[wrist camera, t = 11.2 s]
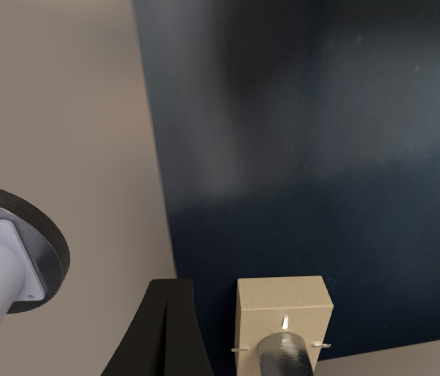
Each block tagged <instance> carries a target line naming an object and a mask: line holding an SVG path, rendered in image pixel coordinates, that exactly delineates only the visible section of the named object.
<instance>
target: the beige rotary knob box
mask: <svg viewBox="0 0 440 376" xmlns="http://www.w3.org/2000/svg"><path fill="white" fill-rule="evenodd" d="M332 309H333V304H332V301H331V299H330V297H329V294H328V292H327V289H326V287H325V284H324V282H323V280H322V277H321V276H300V277H273V278H246V279H238V280H237V300H236V325H235V347H232V351H235V359H236V370H237V376H261V373H260V366H259V359H258V353H257V347H258V344H259V343H260V342H261V341H262V340H263V339H265V338H266V337H268V336H271V335H274V334H278V333H293V334H296V335H298V336H300V337H302V338H303V340H304V341H305V344H306V348H307V351H308V355H309V358H310V362H311V365H312V369H313V371H314V368H315V365H316V362H317V359H318V355H319V352H320V349H321V347H330V343H322V342H323V339H324V336H325V332H326V329H327V326H328V322H329V319H330V316H331V312H332Z"/></svg>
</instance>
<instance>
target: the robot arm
mask: <svg viewBox="0 0 440 376" xmlns="http://www.w3.org/2000/svg"><path fill="white" fill-rule="evenodd" d="M45 295H46V294H45V291H44V289H43V287H42V284H41V282H40V280H39V278H38V276H37V274H36V271H35V269H34V267H33V265H32V263H31V260H30V258H29V256H28V254H27V252H26V250H25V247H24V245H23V243H22V241H21V239H20V236H19V234H18V232H17V230H16V228H15V225H14V224H13V223H12V222H11V221H9V220H5V219H1V220H0V323H1V321H2V320H3V318H4V316H5V315H6V313H7V311H8V310H9V308H10V306H11V305H12V303H13V301H36V300H42V299H43V298H44V296H45ZM101 376H214V374H213V371H212V368H211V365H210V362H209V359H208V356H207V353H206V350H205V347H204V344H203V340H202V336H201V333H200V329H199V325H198V321H197V317H196V312H195V307H194V296H193V283H192V280H191V279H190V278H178V279H153V280H152V281H150V283H149V286H148V288H147V291H146V293H145V295H144V298H143V300H142V302H141V304H140V306H139V308H138V310H137V313H136V314H135V316H134V318H133V320H132V322H131V324H130V326H129V328H128V330H127V332H126V333H125V335H124V337H123V339H122V341H121V343H120V345H119V346H118V348H117V350H116V351H115V353H114V354H113V356H112V358H111V360H110V361H109V363H108V364H107V366H106V368H105V369H104V371H103V372H102V374H101Z"/></svg>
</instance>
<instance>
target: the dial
mask: <svg viewBox="0 0 440 376" xmlns="http://www.w3.org/2000/svg"><path fill="white" fill-rule="evenodd" d="M257 353H258V359H259V366H260V373H261V376H314V372H313V369H312V365H311V362H310V358H309V355H308V351H307V348H306V344H305V341H304V340H303V338H302V337H300V336H298V335H296V334H293V333H278V334H274V335H271V336H268V337H266V338H265V339H263V340H262V341H261V342H260V343H259V344H258V347H257Z"/></svg>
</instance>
